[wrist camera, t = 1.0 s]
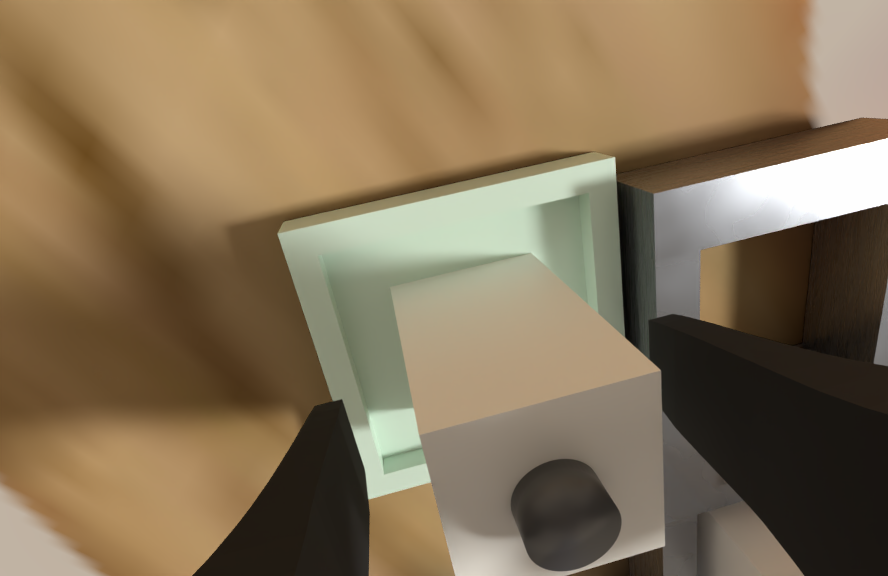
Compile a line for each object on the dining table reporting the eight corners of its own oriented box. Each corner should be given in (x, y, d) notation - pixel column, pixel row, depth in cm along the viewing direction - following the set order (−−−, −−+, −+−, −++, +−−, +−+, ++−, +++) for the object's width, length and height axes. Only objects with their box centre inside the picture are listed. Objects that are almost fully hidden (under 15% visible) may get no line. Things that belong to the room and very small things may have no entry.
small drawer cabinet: (805, 550, 22) (876, 622, 19) (631, 604, 21) (676, 687, 18) (862, 117, 15) (988, 124, 12) (604, 176, 14) (671, 199, 11)
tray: (611, 405, 17) (629, 427, 16) (364, 472, 16) (365, 500, 15) (594, 151, 14) (615, 157, 13) (283, 221, 13) (277, 233, 12)
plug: (546, 373, 16) (691, 583, 9) (420, 407, 15) (472, 650, 9) (531, 252, 14) (692, 398, 7) (389, 286, 14) (426, 470, 7)
